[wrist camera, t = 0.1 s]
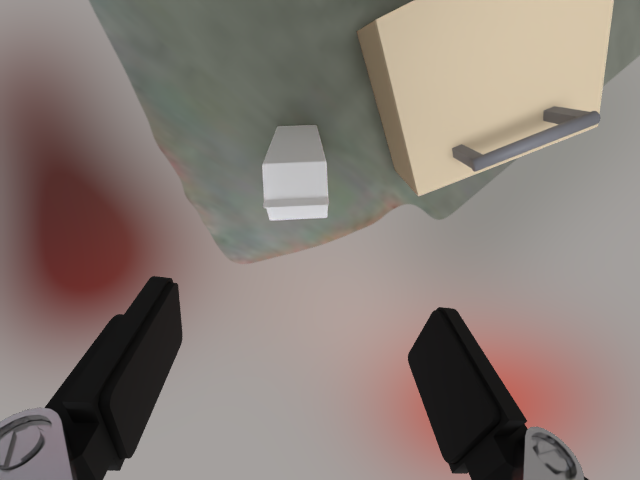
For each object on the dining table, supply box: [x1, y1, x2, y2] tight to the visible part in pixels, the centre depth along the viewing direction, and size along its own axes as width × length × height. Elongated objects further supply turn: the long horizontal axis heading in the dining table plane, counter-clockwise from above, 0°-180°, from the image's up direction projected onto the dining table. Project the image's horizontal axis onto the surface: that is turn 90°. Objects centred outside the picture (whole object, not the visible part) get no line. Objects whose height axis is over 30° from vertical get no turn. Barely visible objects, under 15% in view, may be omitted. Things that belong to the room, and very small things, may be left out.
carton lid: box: [374, 0, 614, 196], centre depth 28 cm, size 20×22×6 cm
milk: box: [262, 125, 329, 220], centre depth 34 cm, size 6×6×22 cm
